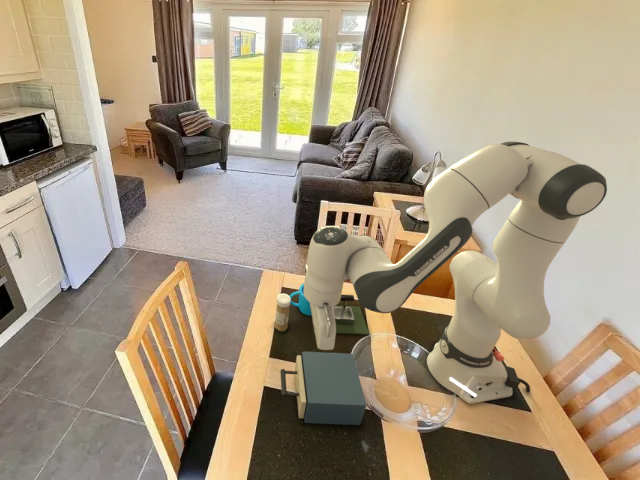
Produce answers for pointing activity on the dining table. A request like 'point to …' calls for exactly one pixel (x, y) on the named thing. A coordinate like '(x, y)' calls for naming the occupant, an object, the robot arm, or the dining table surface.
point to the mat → (358, 325)
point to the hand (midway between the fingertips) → (316, 328)
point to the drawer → (299, 386)
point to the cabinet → (332, 389)
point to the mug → (302, 301)
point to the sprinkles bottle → (282, 312)
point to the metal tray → (344, 312)
